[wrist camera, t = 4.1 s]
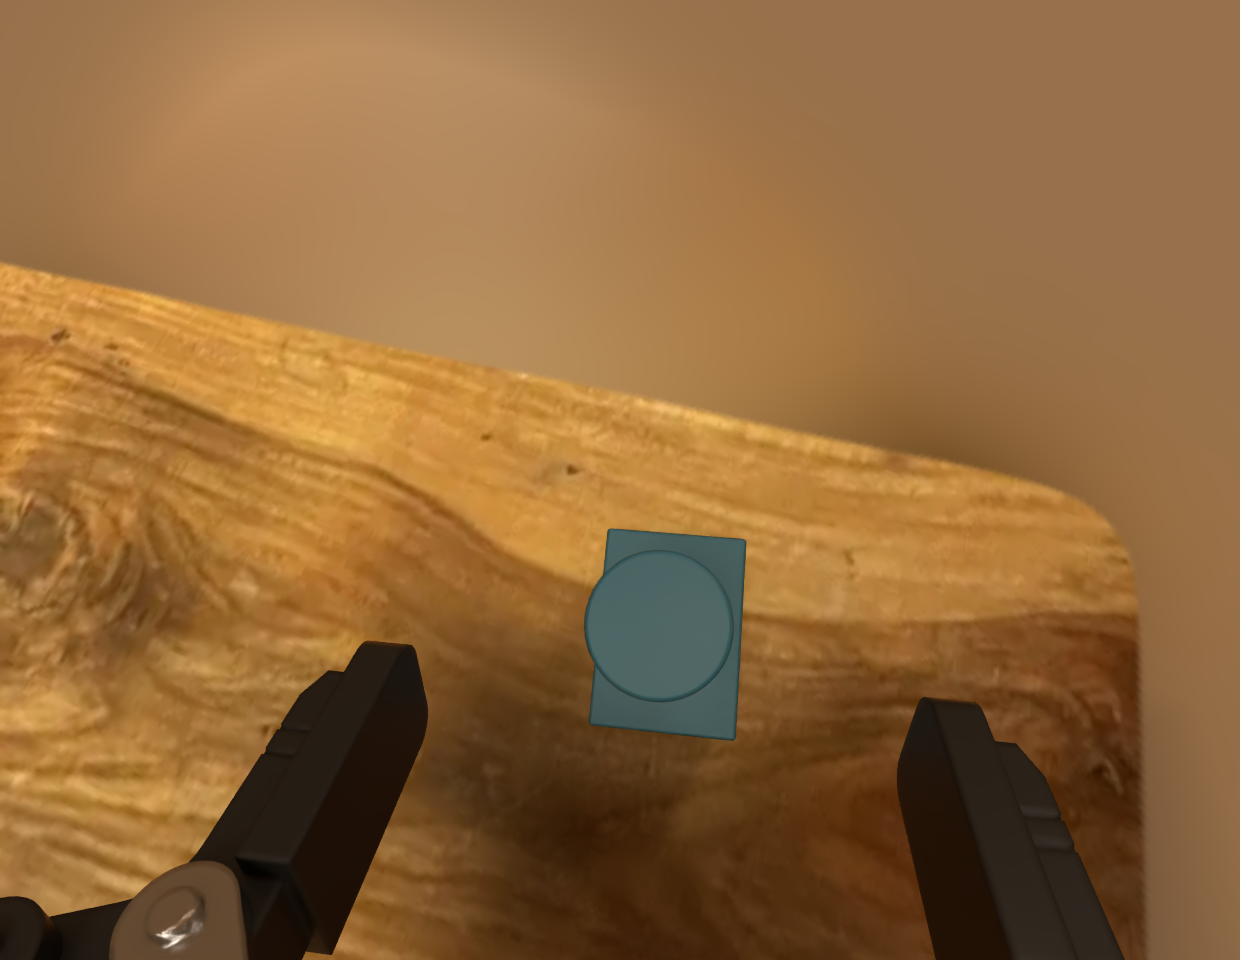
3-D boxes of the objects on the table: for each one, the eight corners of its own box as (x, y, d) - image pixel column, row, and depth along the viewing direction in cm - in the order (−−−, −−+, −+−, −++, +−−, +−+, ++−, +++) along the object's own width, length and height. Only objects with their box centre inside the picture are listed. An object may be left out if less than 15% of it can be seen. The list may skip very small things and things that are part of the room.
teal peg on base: (618, 544, 23) (551, 444, 11) (736, 553, 22) (797, 460, 10) (603, 711, 21) (508, 799, 10) (726, 724, 21) (782, 833, 9)
